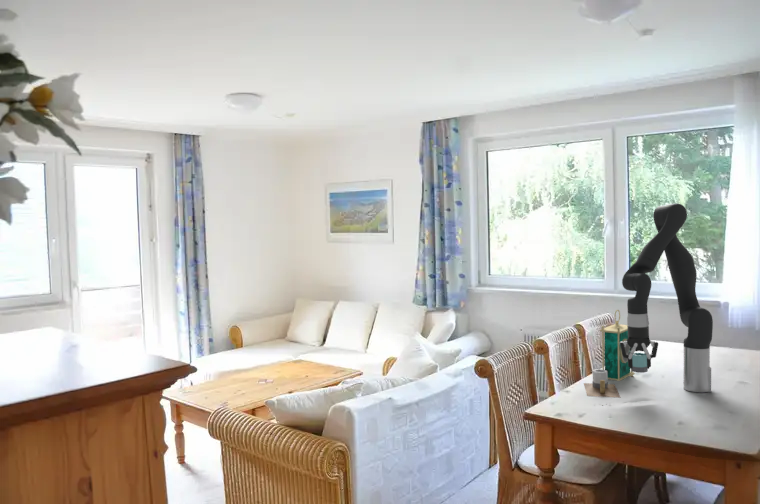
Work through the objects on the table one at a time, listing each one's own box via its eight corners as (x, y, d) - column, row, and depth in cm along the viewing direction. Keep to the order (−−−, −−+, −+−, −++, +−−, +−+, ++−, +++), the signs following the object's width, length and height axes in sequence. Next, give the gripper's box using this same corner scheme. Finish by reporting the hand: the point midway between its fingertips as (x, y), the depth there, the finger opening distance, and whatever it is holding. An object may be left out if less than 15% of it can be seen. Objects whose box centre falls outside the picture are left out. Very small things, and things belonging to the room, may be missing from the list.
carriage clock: (620, 384, 247) (620, 313, 246) (599, 381, 253) (598, 311, 252) (635, 376, 260) (635, 307, 258) (614, 373, 266) (614, 306, 264)
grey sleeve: (603, 384, 243) (602, 368, 242) (609, 388, 238) (609, 372, 237) (590, 385, 242) (590, 369, 242) (597, 389, 237) (597, 373, 236)
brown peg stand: (614, 388, 243) (614, 372, 242) (620, 401, 225) (620, 384, 225) (583, 386, 246) (583, 371, 245) (587, 399, 228) (587, 383, 228)
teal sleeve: (645, 369, 231) (645, 352, 231) (648, 372, 226) (647, 355, 226) (630, 368, 232) (630, 352, 232) (633, 372, 227) (632, 355, 227)
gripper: (656, 322, 230) (657, 365, 231) (616, 323, 234) (618, 365, 234) (660, 326, 223) (661, 370, 224) (619, 326, 226) (621, 370, 227)
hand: (639, 368), depth 229 cm, fingers closed on teal sleeve, 5 cm apart
